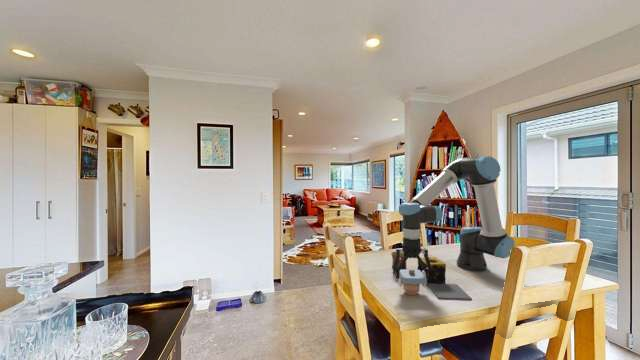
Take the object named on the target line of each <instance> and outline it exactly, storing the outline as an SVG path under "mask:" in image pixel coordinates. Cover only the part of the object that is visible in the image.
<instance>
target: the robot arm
mask: <svg viewBox="0 0 640 360" xmlns="http://www.w3.org/2000/svg"><path fill="white" fill-rule="evenodd" d="M500 174H501V165H500V164H499V161H498V160H497V159H496V158H494V156H490V155H487V156H486V155H479V156H469V157H468V156H467V157H466V156H465V157H460V158H458V159H456V160H453V161H452V162H450V163H449V164H448V165H447V166H445V167H444V168H443V169H442V170H441V171H440V174H439V175H438V176H436V178H435V179H434V180H432V181H431V182H430V183H429V184H428V185H426V186H425V187H424V188H423V189H422V190H421V191H420V192H418V193H417V194H416V195H415V196H414V197H413V198H411V199H410V200H409V201H408V202H402V203H401V204H400V205H399V207H398V214H399V215H400V216H401V217H402V236H403V237H402V247H401V248H398V247H396V248H395V252H396V255H395V258H394V262H393V261H392V262H393V265H392V264H391V265H392V266H391V269H392V271H393V270H394V271H396V273H395V276H396V279H397V280H398V282H397V283H398V286H399V287H402V280H401V271H400V270H401V268H402V267H403V265H404V263H405V261H406V262H407V260H408V259H417V262H418V261H419V263H420V264H421V266H422V268H423V269H424V271H422V273H423V275H424V276H425V277H426V278H427V279H428V273H429V271H432V267H431V264H430V260H429V258H430V257H429V250H428V249H427V248H422V247H421V235H422V234H421V224H427V223H428V224H429V223H437V222H440V221H441V220H442V219H443V215H444V214H443V210H442V209H441V207H439V206H437V205H430V204H431V203H432V202H433V201H434V200H436V199H437V198H438V197H439V196H440V195H441V194H442V193H443V192H444V191H445V190H447V189H448V188H449V187H450V186H451V185H454V184H456V183H457V182H458V181H460V180H468V181H469V185H470V186H471V187H473V189H474V193H475V199H476V203H477V207H478V211H479V212H478V213H479V218H480V223H481V226H482V227H481V226H464V227H461V229H460V234H459V239H460V240H459V243H460V244H459V246H460V247H459V250H460V252H459V254H458V257H457V259H456V265H457V267H459V268H461V269H464V270H466V271H472V272H486V271H488V264H487V261H486V259H485V258H486V257H485V256H484V254H486V255H489V256H492V257H495V258H500V259H507V258H509V257H510V256H511V255H510V250H511V249H512V248H513V247H514V248H515V247H516V246H515V245H516V242H515V239H514V238H513V237H511V236H509V235H508V232H507V230H506V229H505V228H503V225H502V221H501V219H502V218H501V214H500V209H499V204H498V200H497V195H496V190H495V183H497V179H498V178H499V177H500ZM401 252H404V255H403V257H402V259H401V261H400V262H399V264H398V266H397V263H398V260H399V257H400V254H401ZM421 253H422V254H423V258H425V261H426V264H427V267H428V268H426V266H425V265H424V263H423V261H422V260H421V258H422V257H421V256H420V254H421ZM421 285H422V286H423V287H424V288H427V287H426V286H427V284H421Z"/></svg>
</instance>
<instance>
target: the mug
mask: <svg viewBox="0 0 640 360" xmlns="http://www.w3.org/2000/svg"><path fill="white" fill-rule="evenodd" d="M390 254H391V258H392V264H391V265H393V262H394V258H395V255H396V251H391V253H390ZM403 255H404V252H403V251H402V252H401V254H400V257H399V260H398V263H397V266H398V264H399V262H400V261H401V259H402V257H403ZM401 269H404V270H408V269H407V260H406V261H405V263H404V265H403V267H402V268H401ZM392 272H393V273H394V274H396V271H394V270H393V269H392Z"/></svg>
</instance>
